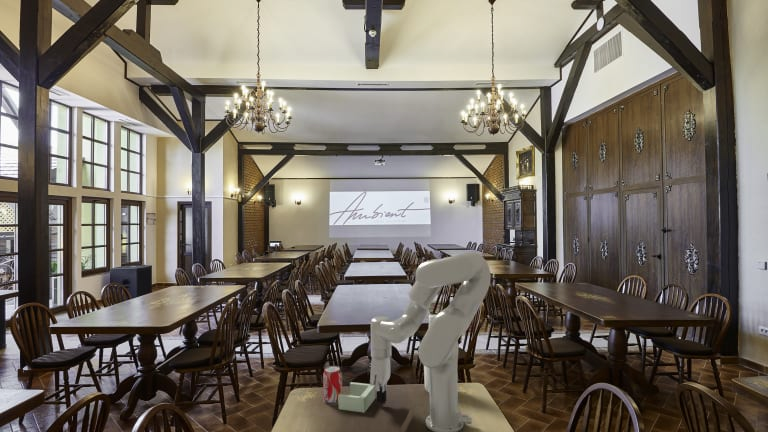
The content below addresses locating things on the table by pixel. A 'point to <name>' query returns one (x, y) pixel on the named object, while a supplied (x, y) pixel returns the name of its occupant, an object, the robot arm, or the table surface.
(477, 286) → the robot arm
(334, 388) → the soda can
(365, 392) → the collar
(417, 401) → the table surface
